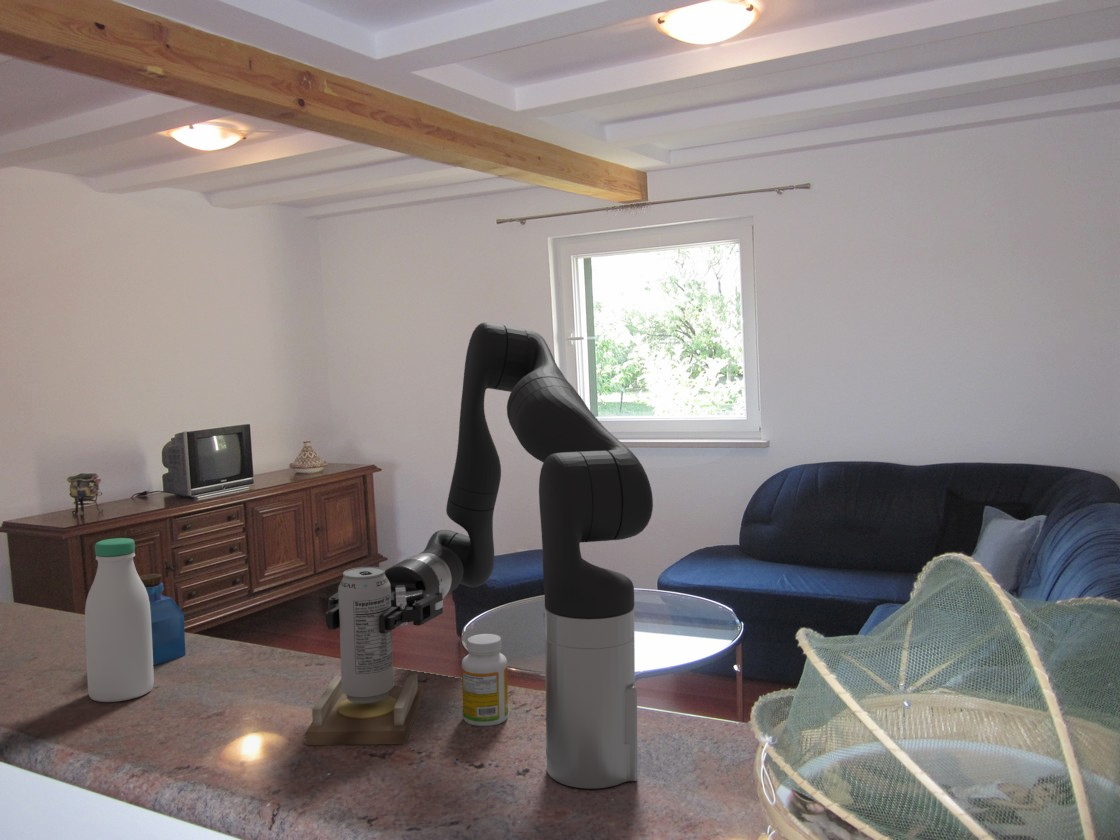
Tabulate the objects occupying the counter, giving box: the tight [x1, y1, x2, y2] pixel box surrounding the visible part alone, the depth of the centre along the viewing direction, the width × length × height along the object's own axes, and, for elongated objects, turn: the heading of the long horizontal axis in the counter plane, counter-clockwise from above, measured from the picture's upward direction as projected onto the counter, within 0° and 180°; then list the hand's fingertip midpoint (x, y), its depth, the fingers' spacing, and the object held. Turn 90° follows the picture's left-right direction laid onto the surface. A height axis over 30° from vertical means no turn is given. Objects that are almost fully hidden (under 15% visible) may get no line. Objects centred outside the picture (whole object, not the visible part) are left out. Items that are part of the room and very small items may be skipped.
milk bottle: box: [84, 537, 155, 703], centre depth 118 cm, size 8×8×20 cm
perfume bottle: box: [139, 573, 186, 666], centre depth 132 cm, size 6×6×12 cm
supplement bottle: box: [461, 633, 509, 727], centre depth 109 cm, size 5×5×10 cm
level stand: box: [305, 673, 424, 746], centre depth 109 cm, size 11×14×4 cm
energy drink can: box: [337, 566, 394, 703], centre depth 108 cm, size 6×6×15 cm
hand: (356, 623), depth 106 cm, fingers closed on energy drink can, 6 cm apart
